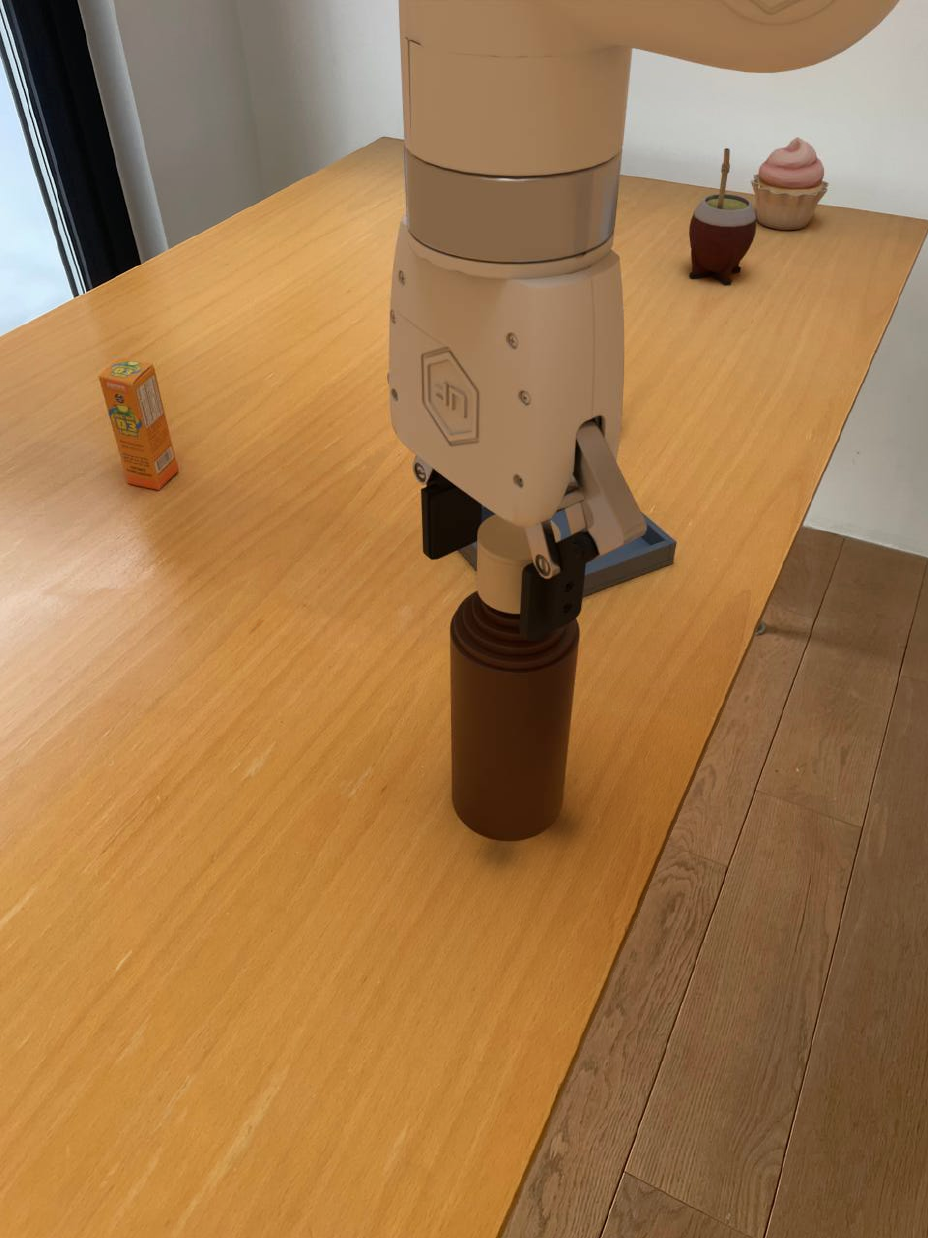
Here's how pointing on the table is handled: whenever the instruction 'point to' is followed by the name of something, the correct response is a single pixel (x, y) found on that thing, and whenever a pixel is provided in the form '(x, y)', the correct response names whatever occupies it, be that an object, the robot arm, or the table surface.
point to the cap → (503, 562)
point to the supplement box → (139, 423)
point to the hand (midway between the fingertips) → (499, 582)
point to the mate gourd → (721, 232)
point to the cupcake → (789, 186)
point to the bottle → (509, 720)
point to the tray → (610, 555)
